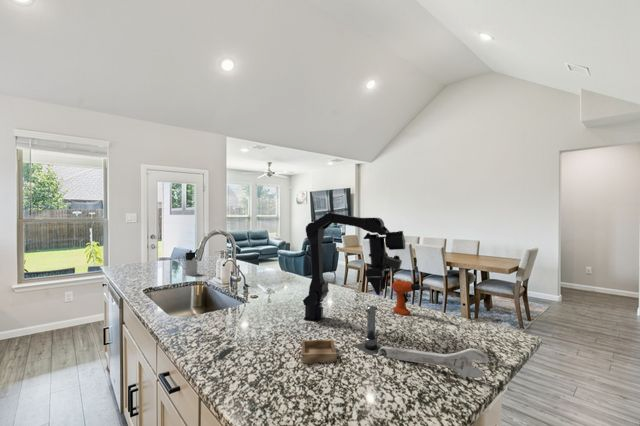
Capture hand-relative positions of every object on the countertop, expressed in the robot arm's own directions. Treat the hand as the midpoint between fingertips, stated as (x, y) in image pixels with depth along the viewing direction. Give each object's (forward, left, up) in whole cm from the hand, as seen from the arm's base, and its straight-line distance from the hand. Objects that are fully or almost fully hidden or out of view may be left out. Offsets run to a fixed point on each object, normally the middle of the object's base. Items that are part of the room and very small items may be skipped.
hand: (381, 291), depth 117 cm
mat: (-1, -19, -14) cm, 23 cm away
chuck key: (-1, -18, -14) cm, 23 cm away
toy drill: (+10, +21, -14) cm, 27 cm away
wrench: (+17, -26, -15) cm, 34 cm away
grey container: (-141, +58, -14) cm, 153 cm away
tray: (-15, -29, -14) cm, 35 cm away
